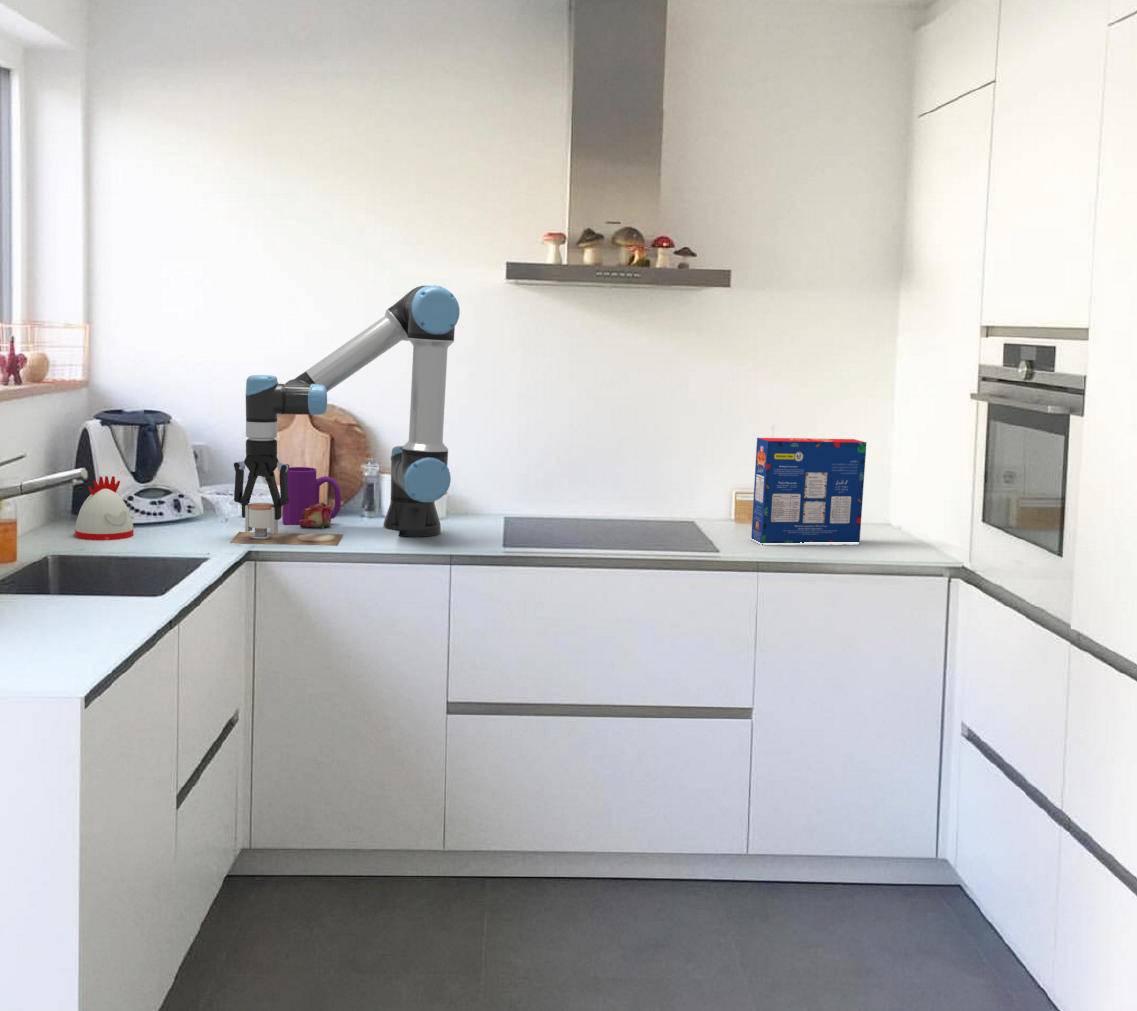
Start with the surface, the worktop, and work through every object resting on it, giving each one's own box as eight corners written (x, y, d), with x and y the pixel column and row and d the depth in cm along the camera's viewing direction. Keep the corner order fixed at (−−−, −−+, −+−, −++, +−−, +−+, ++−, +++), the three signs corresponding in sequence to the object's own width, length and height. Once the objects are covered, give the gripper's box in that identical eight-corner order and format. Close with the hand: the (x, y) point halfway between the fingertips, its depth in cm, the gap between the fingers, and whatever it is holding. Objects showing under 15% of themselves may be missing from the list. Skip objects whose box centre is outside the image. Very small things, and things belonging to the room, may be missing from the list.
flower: (346, 526, 366) (335, 499, 369) (326, 523, 358) (315, 496, 360) (318, 543, 370) (307, 517, 372) (298, 541, 361) (287, 514, 363)
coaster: (336, 536, 352) (336, 534, 352) (332, 542, 343) (332, 540, 343) (299, 535, 351) (299, 533, 351) (295, 541, 342) (295, 539, 342)
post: (272, 536, 349) (272, 508, 348) (269, 539, 344) (270, 511, 343) (252, 535, 348) (252, 508, 347) (249, 539, 343) (249, 511, 342)
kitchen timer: (143, 536, 350) (143, 477, 348) (92, 542, 340) (91, 481, 338) (115, 529, 359) (114, 471, 357) (64, 534, 349) (64, 474, 347)
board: (343, 540, 356) (343, 534, 355) (337, 551, 340) (337, 545, 340) (239, 537, 353) (239, 531, 353) (229, 549, 338) (229, 543, 337)
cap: (277, 525, 348) (277, 503, 347) (268, 529, 342) (268, 506, 341) (254, 523, 349) (254, 502, 348) (245, 527, 343) (245, 505, 342)
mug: (283, 521, 381) (284, 466, 379) (341, 522, 383) (342, 467, 381) (280, 526, 372) (281, 470, 370) (340, 527, 374) (340, 472, 372)
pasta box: (847, 540, 385) (853, 439, 381) (859, 545, 378) (866, 442, 374) (751, 540, 379) (757, 437, 375) (761, 545, 371) (767, 440, 367)
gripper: (303, 439, 344) (303, 531, 348) (231, 435, 347) (231, 527, 351) (293, 442, 337) (292, 536, 341) (218, 438, 340) (219, 531, 344)
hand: (261, 531), depth 346 cm, fingers closed on cap, 6 cm apart
